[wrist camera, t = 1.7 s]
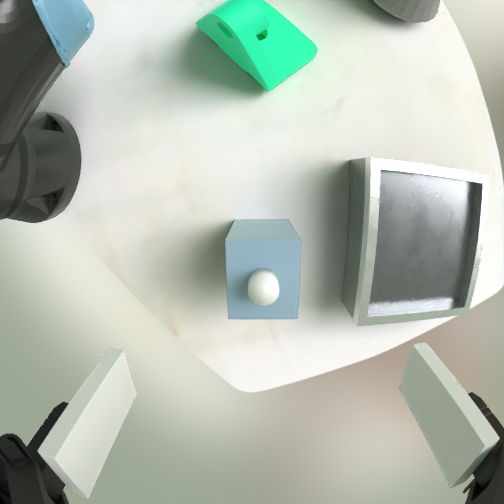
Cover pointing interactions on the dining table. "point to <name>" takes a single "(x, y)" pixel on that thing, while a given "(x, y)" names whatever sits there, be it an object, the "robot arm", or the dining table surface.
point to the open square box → (412, 240)
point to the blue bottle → (262, 269)
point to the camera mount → (250, 48)
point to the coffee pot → (410, 9)
